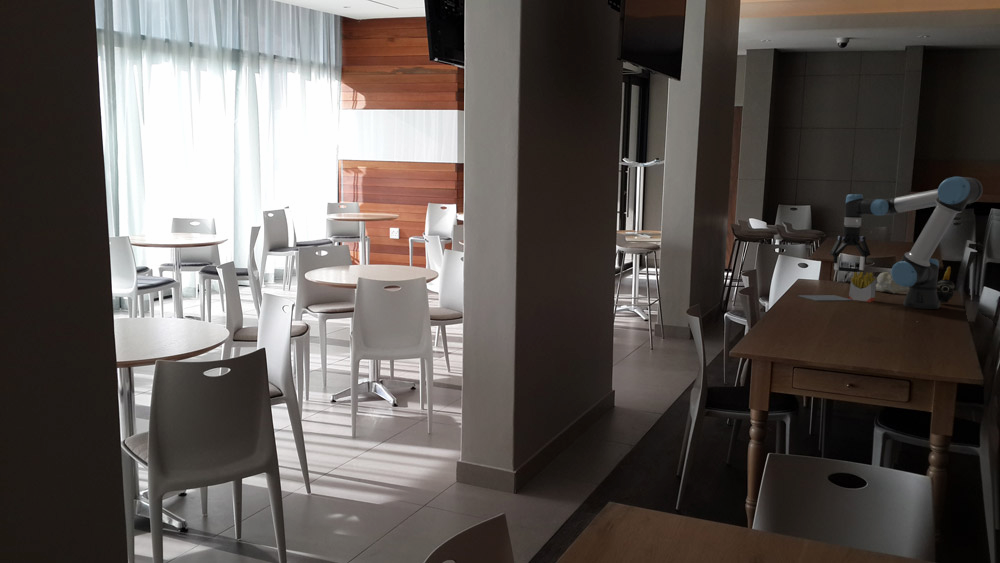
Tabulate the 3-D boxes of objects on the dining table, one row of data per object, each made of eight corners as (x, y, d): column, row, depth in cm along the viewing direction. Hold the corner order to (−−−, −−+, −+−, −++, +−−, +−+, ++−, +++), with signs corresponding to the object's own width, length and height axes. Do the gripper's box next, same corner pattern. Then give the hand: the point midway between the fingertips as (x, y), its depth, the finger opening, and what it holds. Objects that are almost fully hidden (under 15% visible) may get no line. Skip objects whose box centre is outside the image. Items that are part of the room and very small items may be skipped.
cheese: (865, 282, 431) (890, 266, 423) (868, 280, 437) (894, 264, 429) (883, 307, 428) (910, 291, 419) (887, 305, 434) (913, 289, 425)
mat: (853, 300, 399) (853, 299, 399) (816, 301, 395) (816, 300, 395) (834, 295, 414) (834, 295, 414) (798, 296, 411) (798, 295, 411)
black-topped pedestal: (811, 284, 464) (813, 260, 462) (837, 281, 479) (839, 258, 478) (858, 290, 442) (860, 265, 440) (884, 287, 457) (886, 263, 455)
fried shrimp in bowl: (948, 301, 404) (952, 264, 402) (959, 304, 393) (962, 266, 391) (929, 300, 405) (932, 263, 402) (938, 304, 394) (941, 266, 391)
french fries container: (869, 311, 397) (872, 273, 394) (847, 308, 405) (850, 271, 403) (873, 310, 400) (877, 273, 397) (851, 307, 408) (854, 270, 406)
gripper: (870, 226, 410) (867, 269, 412) (824, 225, 405) (821, 269, 408) (880, 227, 402) (876, 270, 405) (833, 226, 398) (830, 270, 400)
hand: (849, 270), depth 406 cm, fingers open, 13 cm apart
